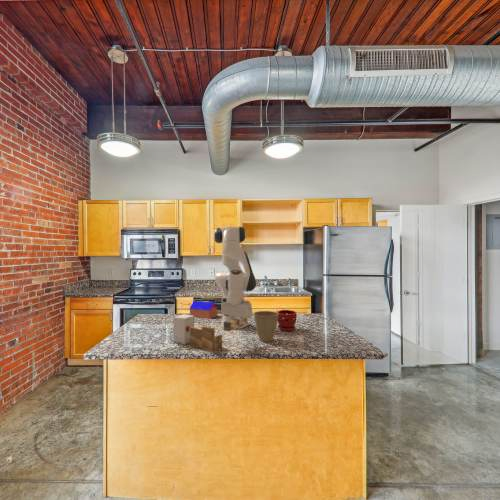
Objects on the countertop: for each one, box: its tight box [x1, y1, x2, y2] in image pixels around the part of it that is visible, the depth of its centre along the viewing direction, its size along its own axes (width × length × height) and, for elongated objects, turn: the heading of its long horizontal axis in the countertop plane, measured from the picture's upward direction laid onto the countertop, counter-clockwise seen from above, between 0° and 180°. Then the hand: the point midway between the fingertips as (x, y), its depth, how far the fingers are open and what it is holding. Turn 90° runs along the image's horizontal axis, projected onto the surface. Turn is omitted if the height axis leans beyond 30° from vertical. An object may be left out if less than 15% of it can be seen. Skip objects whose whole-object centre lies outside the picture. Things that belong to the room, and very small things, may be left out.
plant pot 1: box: [253, 310, 279, 343], centre depth 175 cm, size 15×15×16 cm
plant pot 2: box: [277, 309, 298, 332], centre depth 199 cm, size 13×13×12 cm
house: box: [189, 300, 218, 319], centre depth 242 cm, size 12×20×12 cm, turn 64°
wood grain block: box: [189, 325, 223, 352], centre depth 164 cm, size 8×17×12 cm, turn 53°
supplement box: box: [172, 313, 195, 345], centre depth 173 cm, size 9×9×15 cm
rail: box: [223, 318, 248, 332], centre depth 164 cm, size 17×3×5 cm, turn 143°
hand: (236, 323), depth 164 cm, fingers closed on rail, 3 cm apart
